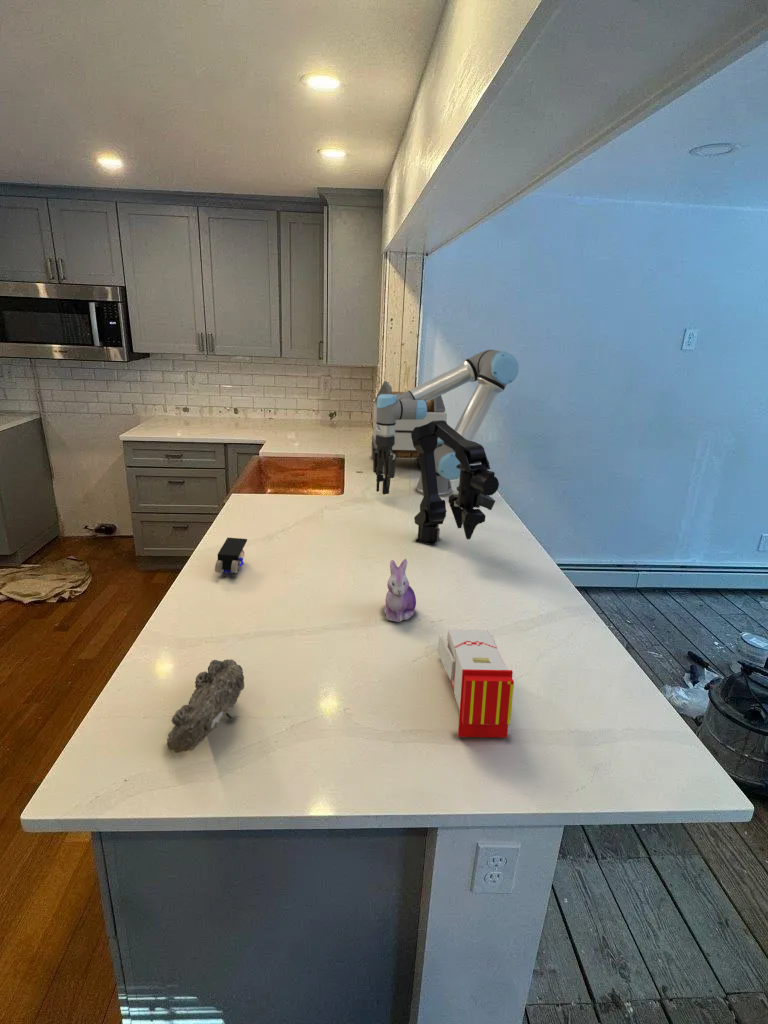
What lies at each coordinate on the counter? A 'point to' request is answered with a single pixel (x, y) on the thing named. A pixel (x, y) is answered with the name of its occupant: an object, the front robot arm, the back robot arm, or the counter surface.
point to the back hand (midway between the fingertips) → (382, 492)
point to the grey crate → (408, 425)
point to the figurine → (399, 594)
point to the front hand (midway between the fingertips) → (463, 533)
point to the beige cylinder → (381, 487)
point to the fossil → (206, 705)
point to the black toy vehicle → (230, 556)
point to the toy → (478, 682)
